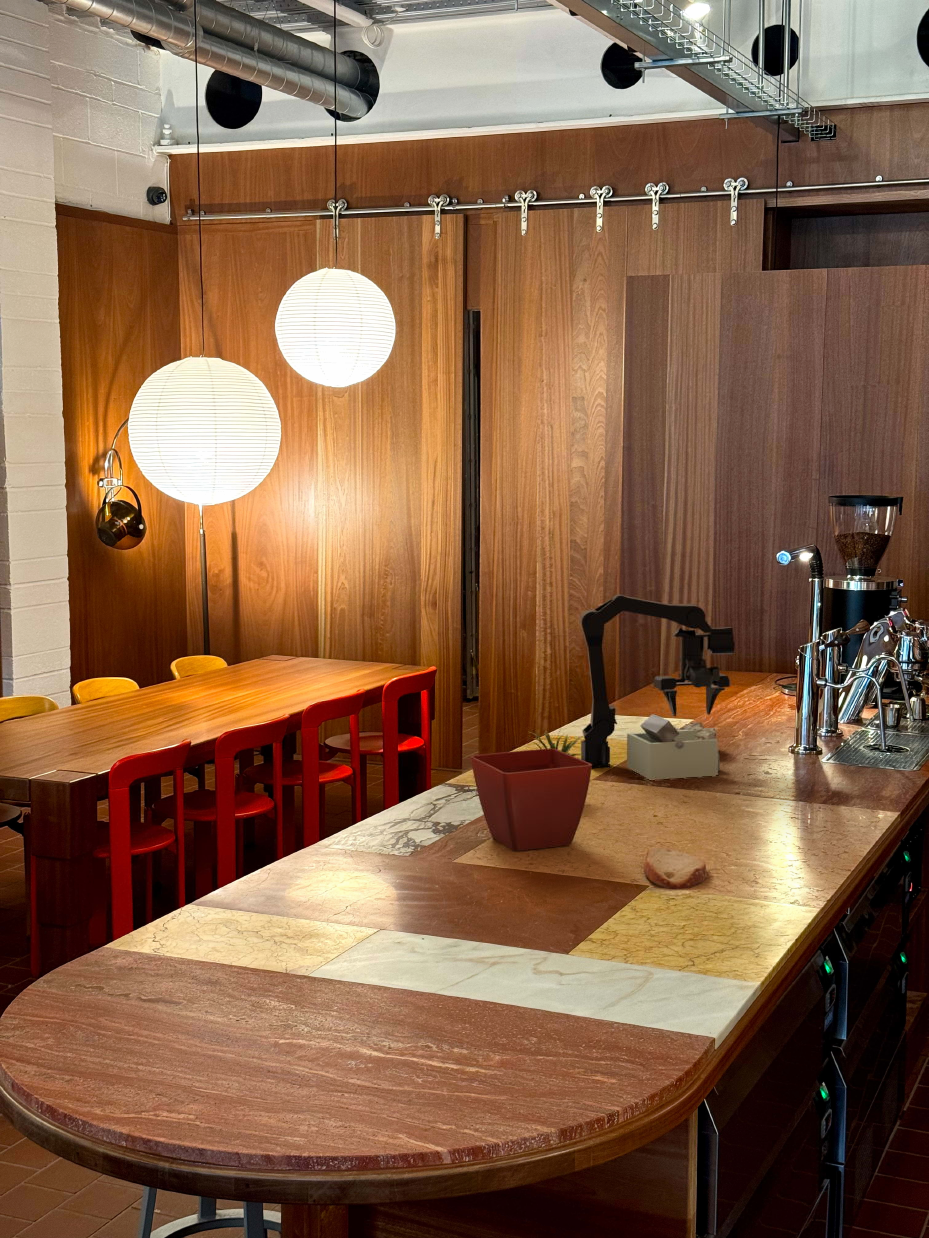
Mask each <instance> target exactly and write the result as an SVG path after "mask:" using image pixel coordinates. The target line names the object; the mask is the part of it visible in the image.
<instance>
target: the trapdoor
mask: <svg viewBox="0 0 929 1238" xmlns="http://www.w3.org/2000/svg"><path fill="white" fill-rule="evenodd" d="M639 727H640V728H641V729H642V730H643V731H644V732H646V734H647V735H648V736H649V737H650V738H651V739H653V740H655V741H657V742H659V743H661V742H676V740H673V739H674V738H675V737H677V736H678V735H679V732H678V731H677V730H676V729H675V728H674V727H675V726H674V725H673V724H672V722H671V721H670V720H668V719H666V718H664V717H662V716H659V715H656V714H654V713H651V715H649V716H648V718H647V719H645V720H644V721H643V722H642V723H641V724H640V726H639Z"/></svg>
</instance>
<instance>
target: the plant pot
mask: <svg viewBox="0 0 929 1238" xmlns="http://www.w3.org/2000/svg"><path fill="white" fill-rule="evenodd" d="M560 750H561V749H558V750H557V749H553V748H550V747H549V748H548V749H545V748H542V749H540V748H536V749H526V750H515V751H504V752H496V753H495V752H494V753H486V754H475V755H470V760H471V767H472V772H473V778H474V784H475V787H476V791H477V795H478V799H479V803H480V807H481V810H482V813H483V815H484V819H485V822H486V825H487V827H488V829H489V830H488V831H489V833H490V836H491V837H492V838H493V839H494V840H496V841H497V840H498V841H497V842H499V843H500V844H502V845H504V846H505V847H507V848H508V849H510V850H512V851H514V852H521V851H528V850H529V849H530V850H537V849H544V848H545V849H546V848H547V847H548V848H553V847H555V846H556V847H563V845H565V846H569V845H572V843H573V841H574V838H575V836H576V833H577V831H578V827H579V825H580V822H581V819H582V815H583V812H584V807H585V804H586V800H587V797H588V793H589V792H588V791H589V787H590V781H591V775H592V768H593V767H592V764H590V763H588V762H585V761H583V760H581V758H579V757H576V756H571V755H569V754H570V753H569V754H567V753H564V752H562V751H560ZM548 848H547V849H548Z"/></svg>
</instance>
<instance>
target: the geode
mask: <svg viewBox="0 0 929 1238" xmlns="http://www.w3.org/2000/svg"><path fill="white" fill-rule="evenodd" d="M684 725H685V726H683V727H680V729H679V727H678V728H677V727H676V726H674V728H675V729H676V730H692V729H693V730H695V740H708V739H717V731H716V728H715V727H704V725H703V723H702V722H695V721H693V722H691V723H690V724H688V723H685V724H684Z"/></svg>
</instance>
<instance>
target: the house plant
mask: <svg viewBox="0 0 929 1238" xmlns="http://www.w3.org/2000/svg"><path fill="white" fill-rule="evenodd" d="M561 730H562V728H560V729H559V732H558V733H557V738H556V743H555V742H553V741H552V739H551V736H550V733H549V732H547V731H546V730H544V732H543V735H544V736H545V738H546V740H547V743H548V745H549V748H553V749H557V750H560V751H562V752H564V753H567V754H569V755H571V756H574V757H576V756H577V755H578V756H579V755H580V756H581V753H569V751H570V750H571V749H572V747H574V746H575V744H576V743H578V740H580V739H581V738H584V736H585V735H581V736H579V737H577V738H576V739H575V740H573V741H570V742H569V743H567V742H568V735H566V736H565V738H564V740H563V744H562V747H561V749H559V743H560V739H561V738H562V737H563V735H565V733H566V732H564V733H563V735H560V732H561ZM529 733H531V734H533V735H534V736H536V737H535V738H534V737H532V739H533V740H537V742H539V743H540V744H541V745H542V747H543V748H542V747H541V746H540V745H539V744H538V743H536V742H533V741H531V743H533V744H535V746H537V747H538V749H549V748H548V746H547V745H546V744H545V743H544V742H543V740H542V739H541V737H540V736H539V735H537V734H536V733H534V732H530V731H529ZM559 735H560V736H559Z"/></svg>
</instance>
